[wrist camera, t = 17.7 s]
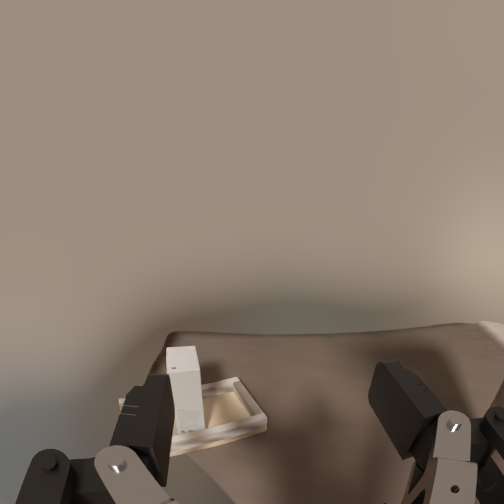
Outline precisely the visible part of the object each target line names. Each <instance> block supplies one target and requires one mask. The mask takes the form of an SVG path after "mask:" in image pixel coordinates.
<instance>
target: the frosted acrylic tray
mask: <svg viewBox="0 0 504 504" xmlns="http://www.w3.org/2000/svg"><path fill="white" fill-rule="evenodd" d="M202 397H203V407H204V418H205V427H206V429H203V430H198V431H194V432H190V433H185V434H180V435H178V434H177V429H176V424H175V420H174V428H173V435H172V443H171V450H170V457H171V456H175V455H180V454H185V453H190V452H194V451H198V450H202V449H207V448H211V447H214V446H218V445H222V444H226V443H229V442H233V441H236V440H239V439H243V438H246V437H249V436H253V435H256V434H259V433H262V432H265V431H267V416H266V415H265V414H264V412H263V411H262V410H261V409H260V407H259V406H258V405H257V403H256V402H255V401H254V399H253V398H252V397H251V395H250V394H249V392H248V391H247V390H246V388H245V387H244V386H243V384H242V383H241V381H240V380H239V379H238V377H234V378H230V379H226V380H221V381H217V382H213V383H208V384H203V385H202ZM124 401H125V398H123V399H119V405H120V410H122V407H123V404H124Z"/></svg>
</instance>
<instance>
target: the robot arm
mask: <svg viewBox="0 0 504 504" xmlns="http://www.w3.org/2000/svg"><path fill="white" fill-rule="evenodd" d="M368 397H369V403H370V405H371V407H372V409H373V410H374V412H375V414H376V415H377V417H378V419H379V420H380V422H381V424H382V426H383V427H384V429H385V431H386V432H387V434H388V436H389V437H390V439H391V441H392V443H393V444H394V446H395V448H396V449H397V451H398V453H399V455H400V456H401V458H402V460H404V459H407V458H410V457H414V458H415V461H414V463H413V465H412V469H411V473H410V476H409V480H408V484H407V487H406V490H405V494H404V497H403V500H402V502H401V504H504V380H503V382H502V384H501V386H500V388H499V390H498V392H497V394H496V396H495V398H494V400H493V402H492V404H491V406H490V408H489V409H488V410H487V412H486V414H485V416H484V417H483V418H477V419H469V418H468V417H467V416H466V415H464V414H463V413H461V412H458V411H447V410H446V409H445V407H444V406H443V405H442V404H441V403H440V401H439V400H438V399H437V398H436V397H435V396H434V394H433V393H432V392H431V391H430V390H429V389H428V387H427V386H426V385H425V384H423V382H422V380H421V379H420V378H419V377H418V376H417V375H416V374H414V373H413V372H411V371H409V370H408V369H404V368H403V367H402V365H401V364H400V363H399V362H398V361H397V360H390V361H384V362H379V363H378V364H377V365H376V368H375V371H374V375H373V379H372V382H371V386H370V389H369V394H368ZM174 420H175V406H174V399H173V393H172V387H171V381H170V376H169V375H168V374H148V377H147V380H146V383H145V386H135V387H134V388H133V389H132V390H131V391H130V392H129V393H128V394H127V395H126V398H125V401H124V404H123V407H122V410H121V415H119V418H118V421H117V424H116V427H115V430H114V433H113V437H112V440H111V443H110V445H109V447H106V448H104V449H102V450H101V451H100V452H99V453H98V454H97V455H96V457H94V458H89V459H73V460H69V459H68V458H67V456H66V455H65V454H64V453H63V452H60V451H59V450H55V449H46V450H42V451H40V452H38V453H37V454H36V455H35V456H34V457H33V459H32V461H31V463H30V466H29V468H28V471H27V473H26V476H25V479H24V481H23V484H22V487H21V489H20V492H19V495H18V498H17V501H16V504H179V503H178V502H177V501H176V500H175V499H171V498H170V497H169V496H168V495H167V494H166V493H165V491H164V490H163V489H162V488H161V486H162V487H166V483H167V475H168V467H169V458H170V450H171V443H172V435H173V428H174ZM384 504H386V503H384Z"/></svg>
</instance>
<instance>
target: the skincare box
mask: <svg viewBox="0 0 504 504" xmlns="http://www.w3.org/2000/svg"><path fill="white" fill-rule="evenodd" d="M166 356H167V357H166V363H167V374H168V375H169V376H170V381H171V387H172V393H173V399H174V406H175V424H176V429H177V434H178V435H180V434H185V433H190V432H194V431H198V430H203V429H206V427H205V418H204V407H203V397H202V385H201V374H200V365H199V360H198V356H197V352H196V347H195V346H185V347H167V348H166Z"/></svg>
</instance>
